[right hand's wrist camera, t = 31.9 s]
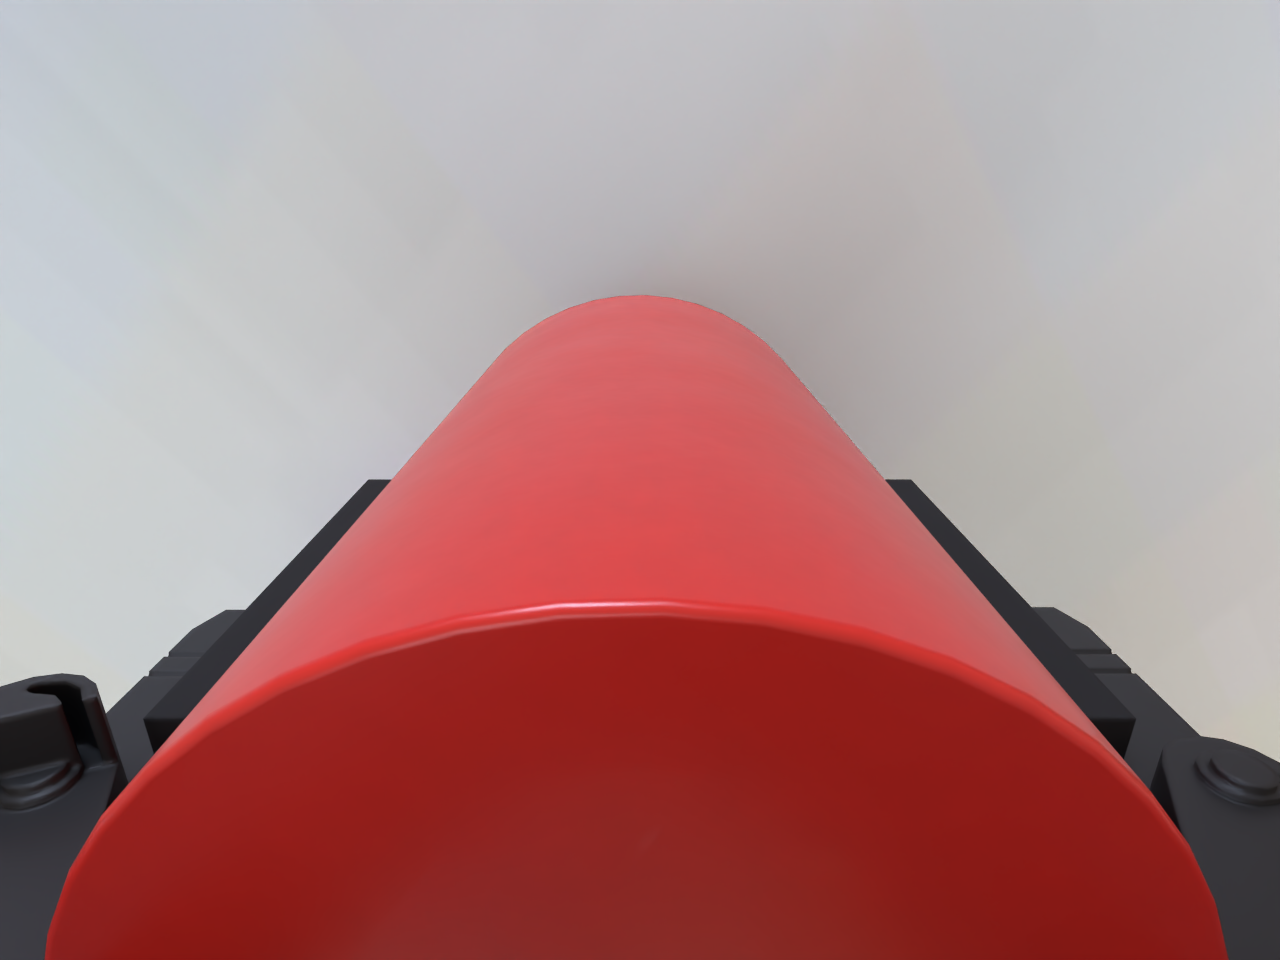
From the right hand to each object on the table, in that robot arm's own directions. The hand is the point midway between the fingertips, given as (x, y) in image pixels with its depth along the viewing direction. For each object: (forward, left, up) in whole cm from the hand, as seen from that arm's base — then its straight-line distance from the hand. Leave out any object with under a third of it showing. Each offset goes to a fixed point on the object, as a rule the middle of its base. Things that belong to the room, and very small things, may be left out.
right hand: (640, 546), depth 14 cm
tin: (0, 0, -3) cm, 3 cm away
